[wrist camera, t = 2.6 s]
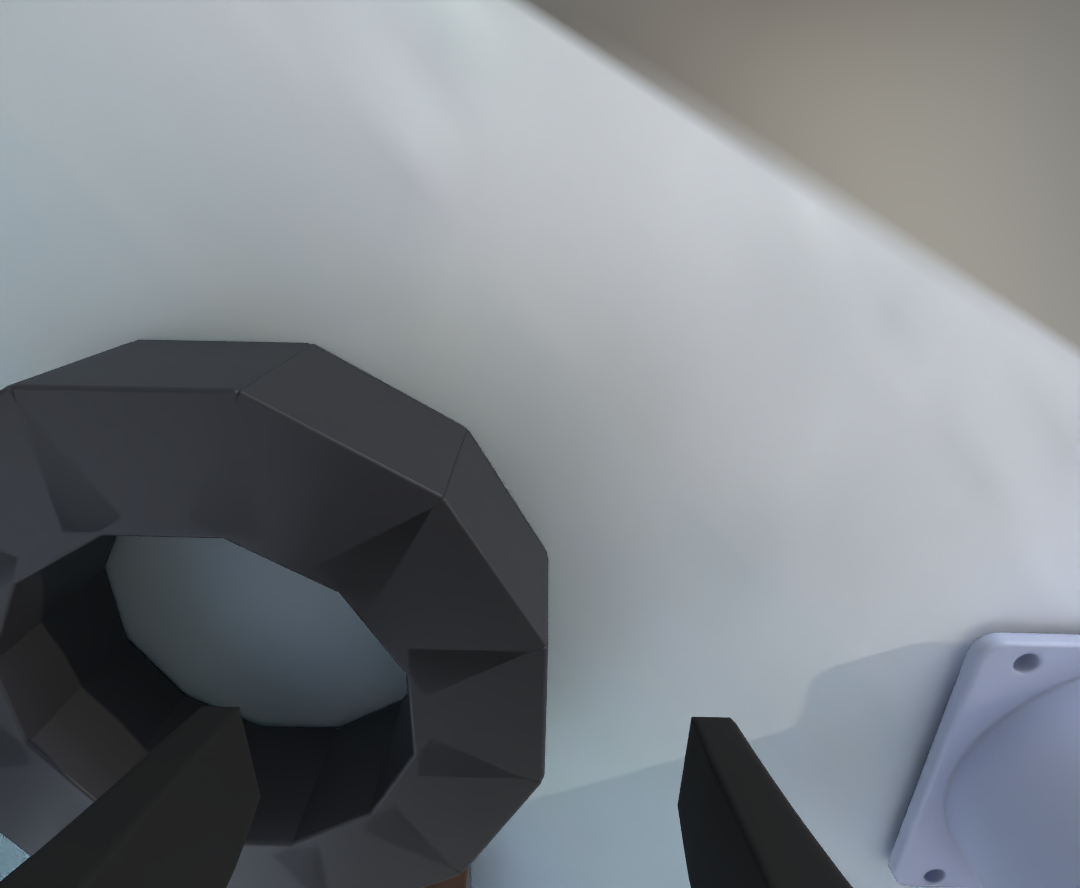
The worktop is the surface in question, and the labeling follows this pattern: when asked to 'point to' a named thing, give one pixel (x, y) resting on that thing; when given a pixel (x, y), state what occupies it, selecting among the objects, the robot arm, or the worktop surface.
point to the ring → (300, 545)
